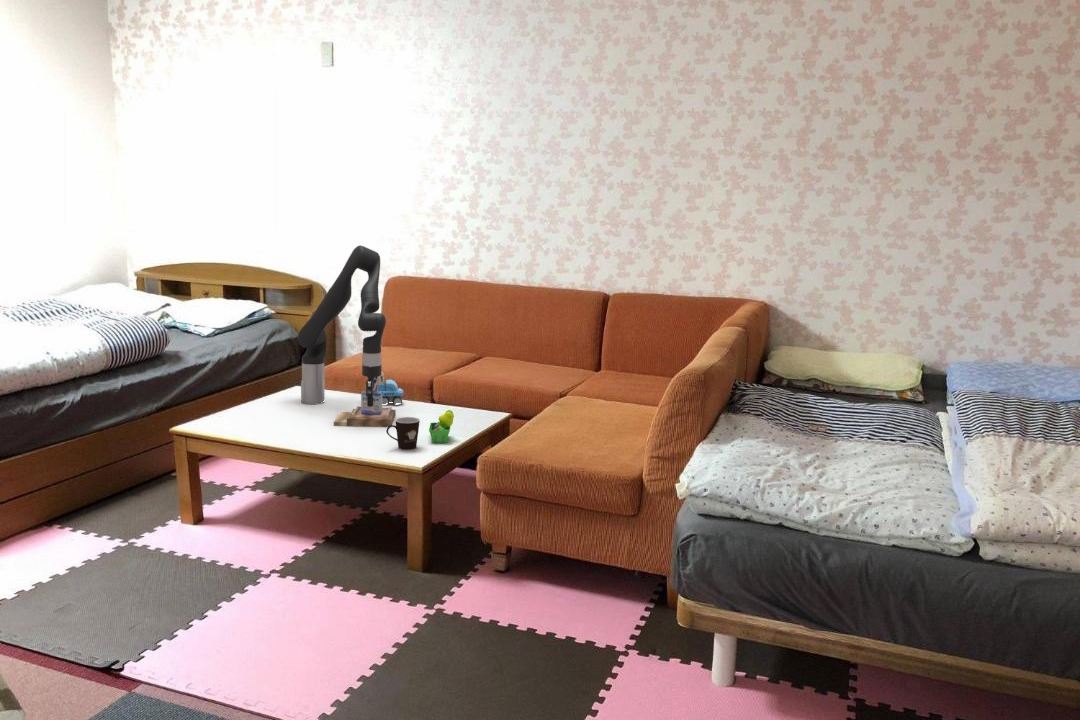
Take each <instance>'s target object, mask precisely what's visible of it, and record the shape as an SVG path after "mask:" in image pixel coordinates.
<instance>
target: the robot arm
mask: <svg viewBox="0 0 1080 720" xmlns="http://www.w3.org/2000/svg"><path fill="white" fill-rule="evenodd" d="M357 269H358V270H361V271H364V272H366V273H367V277H368V278H367V281H366V282H365V283H364V284H363V286H362V288H361V290H360V304H361V305H360V312H359V317H358V320H357V326H358V328H359V330H361V331H363V332H375V333H374V334H373V335H370V336H366V337H364V338H363V339H362V357H361V374H362V376H363V377H366V378H367V380H366V381H365V388H366V389H365V391H366V397H367V406H368V407H372V406H373V396H374V392H375V391H377V389H378V383H379V379H378V378H379V377H378V376H381V374H382V372H383V371H382V368H383V367H382V360H383V359H382V340H383V334H384V331H385V327H386V324H387V320H386V316H385V315H384V314H383V313H381V312H378V311H379V310H380V298H379V296H380V295H379V283H380V281H379V280H380V273H381V271H380V270H381V256H380V254H379V253H378V252H377V251H375V250H373V249H371V248H368V247H366V246H363V245H357V246H356V247H355V248H354V249H353V250H352V252H351V253H350V255H349V257H348V258H347V260H346V262H345V265H344V266H343V268H342V270H341V271H340V273H339V274H338V276H337V278H336V279H335V281H333V284H332V285H331V286H330V287H329V289H328V291H327V292H326V294H325V295H324V297H323V299H322V300H321V301H320V303H319V304H318V306H317V308H316V309H315V311H314V312H313V314H312V315H311V316H310V317H309V319H308V320H307V321H306V323H305V324H304V325H303V326H302V327H301V328H300V330H299V332H298V334H297V341H298V344H299V345H300V346H301V347H302V348H305V349H306V351H305V353H304V354H303V355H302V357H301V381H300V403H301V404H305V403H306V405H317V404H316V403H320V404H322V403H321V402H323V401H324V400H325V399H326V398H325V358H326V354H327V343H328V342H327V340H328V339H327V338H328V337H327V332H326V330H325V328H326V327H327V325H328V324H329V323H330V322H332V320H334V319H335V318H336V317H337V316H338V315H340V314H341V313H342V311H343V310H344V309H345V308H346V306H347V304H348V303H349V302H350V300H351V297H352V279H353V278H352V277H353V275H354V274H355V272H356V271H357ZM369 392H371V394H369ZM323 403H324V402H323Z"/></svg>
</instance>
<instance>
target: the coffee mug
mask: <svg viewBox="0 0 1080 720" xmlns="http://www.w3.org/2000/svg"><path fill="white" fill-rule="evenodd" d="M394 422H395V424H392V425H391V426H389V427H386V434H387V435H388V436H389V437H390V438H391V439H393V440H394V441H396V442H397V446H398V447H397V448H398V449H401V450H404V451H406V450H415V449H416V448H417V444H418V438H419V436H418V435H419V430H420V419H419V418H417V417H413V416H412V417H410V416H404V417H403V416H402V417H401V416H400V417H398V418H395V419H394ZM390 428H395V430H396V436H397V437H394V436H392V435H391V434H390V433H389V430H390Z"/></svg>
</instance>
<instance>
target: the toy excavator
mask: <svg viewBox="0 0 1080 720" xmlns="http://www.w3.org/2000/svg"><path fill="white" fill-rule="evenodd" d="M377 378H378V382H377V387H378V389H377V391H378V392H383V393H382V404H386V403H388V405H389V404H390V403H389V402H393V403H392V404H393V405H394V404H396V403H402V404H403V397H402V396H404V393H405V392H404V390H403V388H400V387H399V388H398V384H397V383H396V381H395V380H392V379H386V380H385V376H384V372H383V371H382V374H381V376H378V377H377Z"/></svg>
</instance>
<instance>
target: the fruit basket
mask: <svg viewBox="0 0 1080 720" xmlns="http://www.w3.org/2000/svg"><path fill="white" fill-rule="evenodd" d="M454 418H455V414H454V412H453V410H451V409H448V410H446V411H445V412H444V413H443V414H440V415H439V417H438V421H437V422H430V424H429V428H428V431H429V434H430V438H431V443H433V444H435V443H436V444H439V443H440V444H441V443H442V444H446V443H447V442H448V438H449V435H450V432H451V427H452V425H453V424H454V423H453V422H454Z"/></svg>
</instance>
